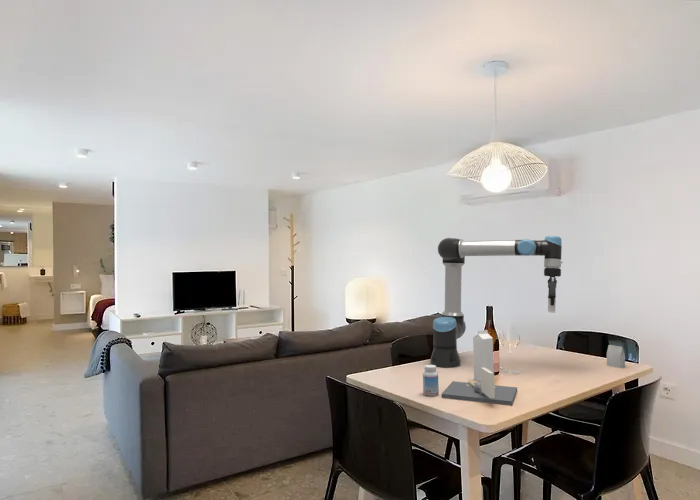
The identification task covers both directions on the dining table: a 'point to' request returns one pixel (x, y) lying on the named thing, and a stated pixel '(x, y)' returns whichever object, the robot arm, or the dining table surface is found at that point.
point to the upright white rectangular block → (485, 383)
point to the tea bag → (615, 356)
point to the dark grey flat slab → (467, 392)
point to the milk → (482, 353)
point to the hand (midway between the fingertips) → (551, 312)
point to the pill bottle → (430, 381)
